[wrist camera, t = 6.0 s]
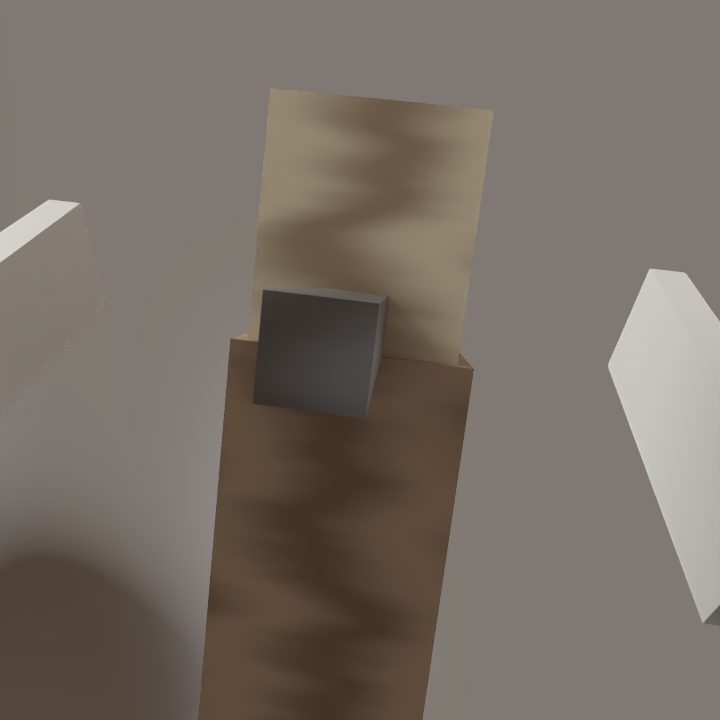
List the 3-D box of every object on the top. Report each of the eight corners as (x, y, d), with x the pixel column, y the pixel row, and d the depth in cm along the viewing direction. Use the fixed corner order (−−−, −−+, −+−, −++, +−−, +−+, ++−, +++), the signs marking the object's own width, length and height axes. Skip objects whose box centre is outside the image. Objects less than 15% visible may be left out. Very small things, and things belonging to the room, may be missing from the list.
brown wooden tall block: (169, 1053, 22) (230, 338, 18) (216, 896, 28) (270, 326, 24) (367, 1092, 22) (473, 369, 18) (374, 925, 28) (455, 348, 24)
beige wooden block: (114, 385, 10) (143, -109, 9) (281, 327, 24) (300, 134, 23) (510, 437, 10) (591, -73, 8) (444, 347, 24) (471, 152, 22)
